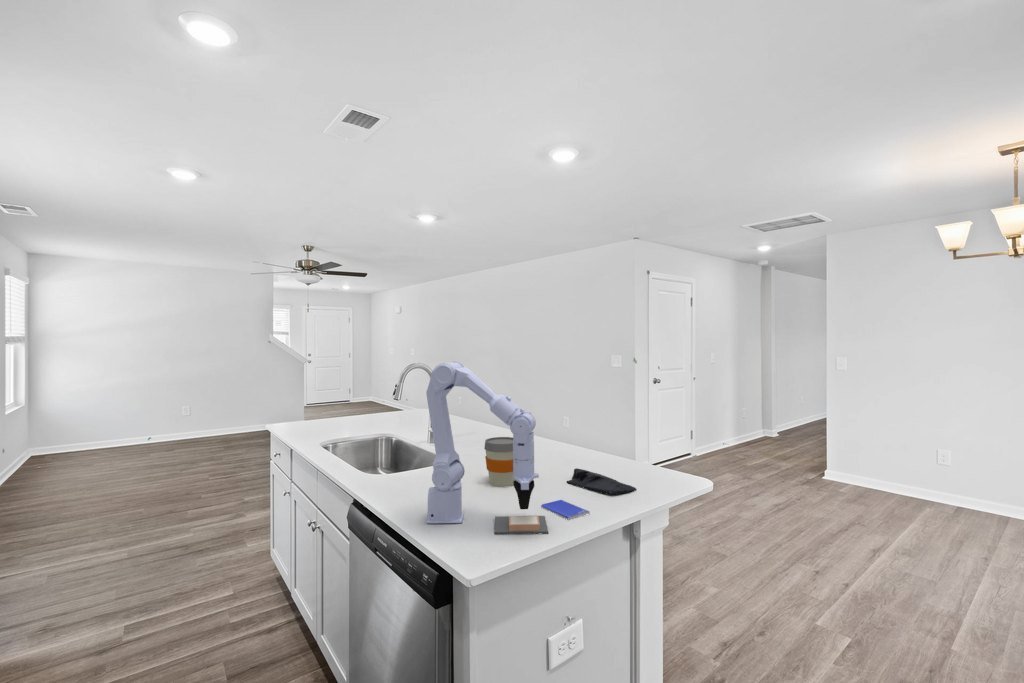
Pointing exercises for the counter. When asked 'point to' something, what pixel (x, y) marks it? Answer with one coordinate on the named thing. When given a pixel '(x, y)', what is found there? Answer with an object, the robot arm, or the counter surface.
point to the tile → (524, 523)
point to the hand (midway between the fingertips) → (524, 508)
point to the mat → (503, 528)
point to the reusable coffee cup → (500, 461)
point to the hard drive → (564, 509)
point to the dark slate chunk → (598, 482)
